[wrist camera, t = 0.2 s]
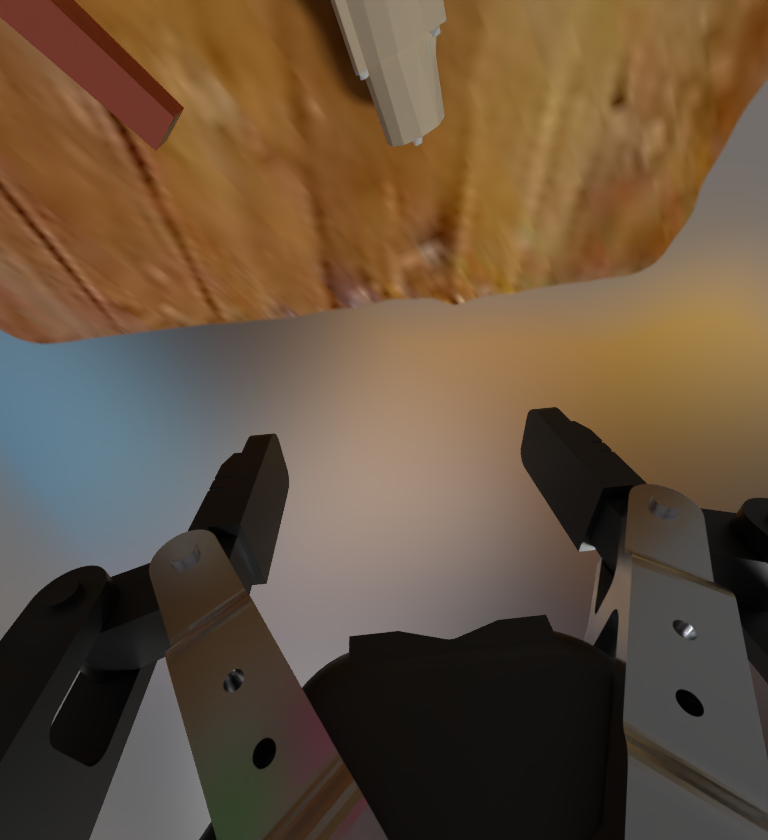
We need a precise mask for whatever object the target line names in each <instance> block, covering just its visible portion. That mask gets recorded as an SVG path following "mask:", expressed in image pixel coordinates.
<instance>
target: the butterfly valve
mask: <svg viewBox="0 0 768 840" xmlns="http://www.w3.org/2000/svg"><path fill="white" fill-rule="evenodd" d="M331 3H332V6H333V9H334V12H335V15H336V18H337V21H338V24H339V27H340V30H341V33H342V36H343V39H344V42H345V45H346V48H347V51H348V54H349V57H350V60H351V63H352V66H353V69H354V71H355V74H356V76H357V75H360V79H361V80H364V79H365V80H366V83H367V85H368V88H369V91H370V94H371V97H372V100H373V103H374V106H375V109H376V111H377V114H378V117H379V120H380V123H381V126H382V129H383V132H384V135H385V138H386V140H387V143H388V144H389V145H391V146H393V147H394V146H400V145H405V144H407V143H409V142H412V141H413V143H414V144H415V146H417V145H419V144H421V143H422V137H423V136H424V135H426V134H427V133H428V132H430V131H431V130H433V129H434V128H435V127H437V126H438V125H439V124H440V123H441V121H442V120H443V118H444V109H443V102H442V95H441V88H440V81H439V74H438V67H437V61H436V36H437V35H439V34H440V28H439V25H441V24H442V23H444V22H445V21H446V14H445V8H444V2H443V0H331Z"/></svg>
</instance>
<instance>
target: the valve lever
mask: <svg viewBox="0 0 768 840" xmlns="http://www.w3.org/2000/svg"><path fill="white" fill-rule="evenodd" d="M0 17H1V18H2V19H3V20H4V21H6V22H7V23H8V24H9V25H10V26H11V27H13V28H14V29H15V30H16V31H17V32H18V33H19V34H21V35H22V36H23V37H24V38H25V39H26V40H28V41H29V42H30V43H31V44H32V45H33V46H35V47H36V48H37V49H38V50H39V51H40V52H42V53H43V54H44V55H45V56H46V57H47V58H49V59H50V60H51V61H52V62H53V63H54V64H56V65H57V66H58V67H59V68H60V69H61V70H63V71H64V72H65V73H66V74H67V75H68V76H70V77H71V78H72V79H73V80H74V81H75V82H77V83H78V84H79V85H80V86H81V87H82V88H84V89H85V90H86V91H87V92H88V93H89V94H91V95H92V96H93V97H94V98H95V99H96V100H98V101H99V102H100V103H101V104H102V105H103V106H105V107H106V108H107V109H108V110H109V111H110V112H112V113H113V114H114V115H115V116H116V117H117V118H119V119H120V120H121V121H122V122H123V123H124V124H125V125H127V126H128V127H129V128H130V129H131V130H132V131H134V132H135V133H136V134H137V135H138V136H139V137H141V138H142V139H143V140H144V141H145V142H146V143H148V144H149V145H150V146H151V147H152V148H153V149H155V150H157V149H158V148H159V147H160V146H161V145H162V144H163V143H164V142H165V141H166V140H167V139H168V137H169V135H170V133H171V131H172V130H173V128H174V126H175V124H176V122H177V120H178V118H179V117H180V115H181V113H182V111H183V109H184V108H183V107H182V106H181V105H180V104H179V103H178V102H177V101H176V100H175V99H174V98H173V97H172V96H171V95H170V94H169V93H168V92H167V91H166V90H165V89H164V88H163V87H162V86H161V85H160V84H159V83H158V82H157V81H156V80H155V79H154V78H153V77H152V76H151V75H150V74H149V73H148V72H147V71H146V70H145V69H144V68H143V67H142V66H141V65H140V64H139V63H138V62H137V61H136V60H135V59H133V58H132V57H131V56H130V55H129V54H128V53H127V52H126V51H125V50H124V49H123V48H122V47H121V46H120V45H119V44H118V43H117V42H116V41H115V40H114V39H113V38H112V37H111V36H110V35H109V34H108V33H107V32H106V31H105V30H104V29H103V28H102V27H101V26H100V25H99V24H98V23H97V22H96V21H95V20H94V19H93V18H92V17H91V16H90V15H89V14H88V13H87V12H86V11H85V10H84V9H83V8H81V7H80V6H79V5H78V4H77V3H76V2H75V1H74V0H0Z"/></svg>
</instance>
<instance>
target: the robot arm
mask: <svg viewBox="0 0 768 840" xmlns="http://www.w3.org/2000/svg"><path fill="white" fill-rule="evenodd" d="M521 458H522V462H523V465H524V467H525V469H526V470H527V472H528V473H529V475H530V477H531V478H532V480H533V481H534V483H535V484H536V486H537V488H538V489H539V491H540V492H541V494H542V495H543V497H544V498H545V500H546V501H547V503H548V505H549V506H550V508H551V509H552V511H553V512H554V514H555V515H556V517H557V519H558V520H559V522H560V523H561V525H562V526H563V528H564V530H565V531H566V533H567V534H568V536H569V537H570V539H571V540H572V542H573V544H574V545H575V547H576V548H577V550H578V551H579V552H580V551H589V550H597V552H598V553H599V555H600V556H601V557H600V559H599V561H598V564H597V571H596V577H595V585H594V591H593V598H592V605H591V611H590V618H589V623H588V628H587V631H586V634H585V637H584V641H583V640H580V639H578V638H575V637H573V636H570V635H567V634H563V633H560V632H555V631H553V629H552V627H551V625H550V623H549V621H548V618H547V616H546V615H540V616H531V617H522V618H512V619H504V620H497V621H495V622H493V623H490V624H488V625H486V626H483V627H481V628H479V629H476V630H474V631H472V632H470V633H467V634H465V635H463V636H460V637H458V638H455V639H450V640H448V639H441V638H436V637H429V636H423V635H418V634H412V633H406V632H400V631H395V632H387V633H377V634H368V635H359V636H350V640H349V653H347V654H344V655H342V656H340V657H338V658H336V659H335V660H333V661H331V662H330V663H328V664H327V665H326V666H324V667H323V668H322V669H321V670H319V671H318V672H317V673H316V674H315V675H314V676H313V677H312V678H311V679H310V680H309V681H308V682H307V683H306V684H305V685H304V686H303V688H302V687H301V686H300V684H299V682H298V680H297V678H296V677H295V675H294V673H293V671H292V670H291V668H290V666H289V664H288V663H287V661H286V659H285V657H284V656H283V654H282V652H281V650H280V648H279V647H278V645H277V643H276V641H275V640H274V638H273V636H272V634H271V632H270V631H269V629H268V627H267V625H266V623H265V622H264V620H263V618H262V617H261V615H260V613H259V611H258V609H257V608H256V606H255V604H254V602H253V600H252V599H251V597H250V595H249V594H250V591H251V587H252V585H257V584H266V583H267V579H268V575H269V570H270V566H271V562H272V558H273V553H274V549H275V545H276V541H277V537H278V532H279V528H280V524H281V519H282V515H283V511H284V507H285V502H286V498H287V493H288V488H289V476H288V470H287V467H286V463H285V460H284V457H283V454H282V450H281V446H280V443H279V440H278V437H277V435H276V434H265V435H254V436H250V437H249V438H248V440H247V442H246V444H245V447H244V449H243V451H242V453H234V454H233V455H232V456H231V457H230V458H229V459H227V461H225V462H224V463H223V464H222V465H221V467H220V469H219V471H218V473H217V475H216V477H215V480H214V481H213V483H212V485H211V487H210V491H208V492H207V495H206V496H205V498H204V500H203V502H202V504H201V506H200V508H199V510H198V512H197V514H196V516H195V518H194V520H193V522H192V524H191V526H190V528H189V530H188V532H185V533H182V534H180V535H178V536H176V537H175V538H173V539H171V540H170V541H168V542H167V543H166V544H165V545H164V546H162V547H161V548H160V549H159V550H158V551H157V553H156V554H155V555H154V557H153V559H152V561H151V563H149V564H146V565H143V566H140V567H138V568H135V569H132V570H130V571H127V572H124V573H121V574H118V575H115V576H113V577H110V576H109V575H108V574H107V572H106V571H105V570H104V569H103V568H101V567H99V566H85V567H80V568H77V569H74V570H72V571H69V572H67V573H65V574H63V575H61V576H60V577H58V578H56V579H55V580H53V581H52V582H50V583H49V584H48V585H47V586H45V587H44V588H43V589H42V590H41V591H39V592H38V594H37V595H35V596H34V598H33V599H32V600H31V601H30V603H29V604H28V605H27V606H26V608H25V609H24V610H23V612H22V613H21V614H20V616H19V617H18V618H17V619H16V621H15V622H14V623H13V625H12V626H11V627H10V629H9V630H8V631H7V633H6V634H5V635H4V637H3V638H2V639H1V641H0V840H89V838H90V836H91V833H92V831H93V828H94V826H95V823H96V820H97V818H98V815H99V812H100V810H101V807H102V805H103V802H104V799H105V797H106V794H107V791H108V789H109V786H110V784H111V781H112V778H113V776H114V773H115V770H116V768H117V765H118V762H119V760H120V757H121V755H122V752H123V749H124V747H125V744H126V742H127V738H128V736H129V734H130V731H131V728H132V725H133V723H134V721H135V718H136V715H137V713H138V710H139V707H140V705H141V702H142V700H143V697H144V694H145V692H146V689H147V686H148V684H149V681H150V679H151V676H152V673H153V670H154V668H155V665H156V663H157V660H159V659H161V658H164V657H166V662H167V666H168V670H169V673H170V677H171V680H172V684H173V688H174V691H175V695H176V698H177V702H178V705H179V708H180V712H181V716H182V719H183V723H184V726H185V730H186V733H187V737H188V740H189V744H190V747H191V751H192V754H193V758H194V761H195V765H196V768H197V772H198V775H199V779H200V783H201V786H202V789H203V793H204V797H205V800H206V804H207V807H208V811H209V814H210V817H211V823H210V824H209V826H208V827H207V829H206V830H205V832H204V833H203V835H202V836H201V838H200V839H199V840H768V760H767V755H766V750H765V744H764V740H763V735H762V729H761V724H760V719H759V714H758V709H757V704H756V698H755V694H754V688H753V683H752V678H751V673H750V668H749V663H748V660H749V661H750V662H751V663H752V665H753V666H754V667H755V668H756V670H757V671H758V672H759V673H760V675H761V676H762V677H763V678H764V679H765V681H766V682H767V683H768V498H752V499H748V500H747V501H745V502H744V504H743V505H742V506H741V508H740V509H739V511H738V512H737V513H731V512H723V511H716V510H709V509H701V508H699V506H698V505H697V504H696V503H695V502H694V501H692V500H691V499H690V498H688V497H687V496H685V495H683V494H682V493H680V492H678V491H676V490H673V489H671V488H667V487H665V486H660V485H655V484H647V483H646V482H645V481H644V480H643V479H642V478H641V477H640V476H638V475H637V474H636V473H635V472H634V471H633V470H632V469H631V468H630V467H629V466H628V465H627V464H626V463H625V462H624V461H623V460H622V459H621V458H620V457H619V456H618V455H617V454H616V453H614V452H612V451H611V449H610V448H609V447H608V446H607V445H606V444H605V443H602V440H601V439H600V438H599V437H598V436H596V434H595V433H594V432H593V431H592V430H590V429H588V428H587V427H585V426H583V425H581V424H579V423H577V422H575V421H570V420H569V419H568V418H567V417H566V416H565V415H564V414H563V413H562V412H561V411H560V410H559V409H558V408H556V407H552V408H542V409H532V410H530V411H529V412H528V415H527V419H526V425H525V430H524V435H523V440H522V446H521ZM79 670H80V671H81V672H80V674H79V676H78V677H77V679H76V681H75V683H74V685H73V686H72V689H71V690H70V692H69V694H68V696H67V698H66V700H65V701H64V703H63V705H62V707H61V709H60V711H59V713H58V715H57V716H56V718H55V720H54V722H53V724H52V721H53V719H54V716H55V714H56V712H57V710H58V708H59V707H60V705H61V703H62V701H63V699H64V697H65V696H66V694H67V692H68V690H69V688H70V686H71V684H72V682H73V681H74V679H75V677H76V675H77V673H78V672H79ZM51 724H52V726H51Z"/></svg>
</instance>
